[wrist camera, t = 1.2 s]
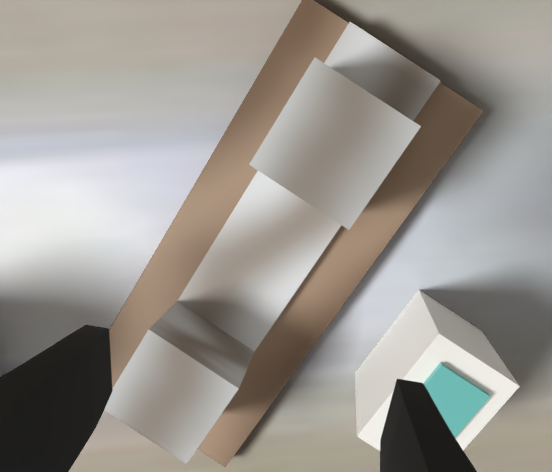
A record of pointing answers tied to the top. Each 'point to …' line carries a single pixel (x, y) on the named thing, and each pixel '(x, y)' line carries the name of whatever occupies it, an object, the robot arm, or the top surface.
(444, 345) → the block
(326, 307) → the board
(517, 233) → the top surface
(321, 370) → the top surface
